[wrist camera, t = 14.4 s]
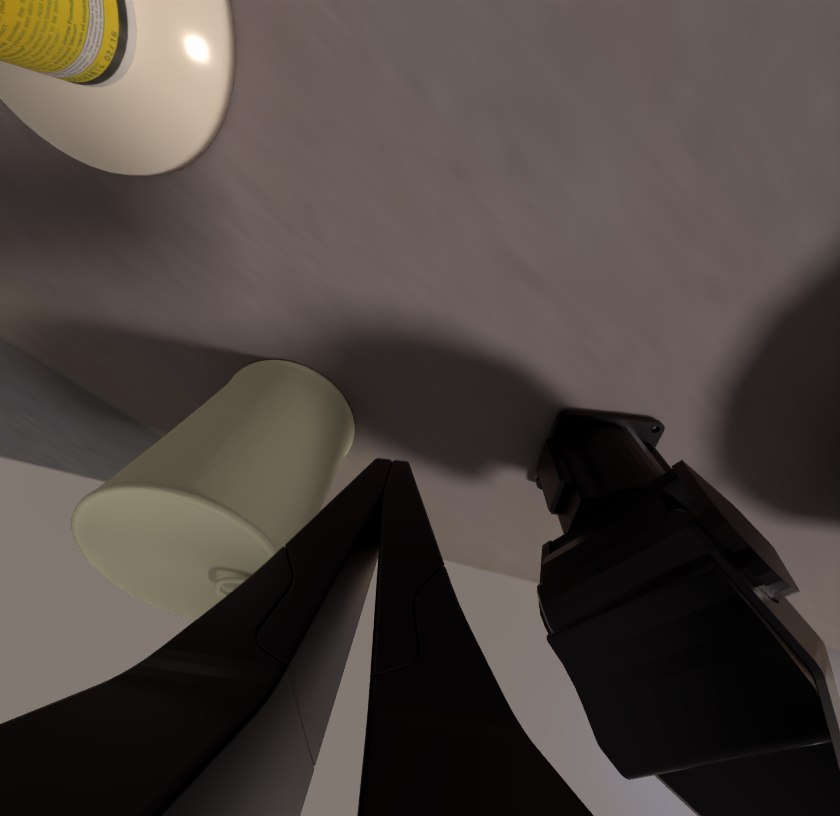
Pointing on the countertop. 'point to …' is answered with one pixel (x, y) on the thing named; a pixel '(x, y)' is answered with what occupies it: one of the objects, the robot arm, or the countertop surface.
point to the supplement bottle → (70, 38)
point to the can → (219, 489)
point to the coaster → (140, 94)
